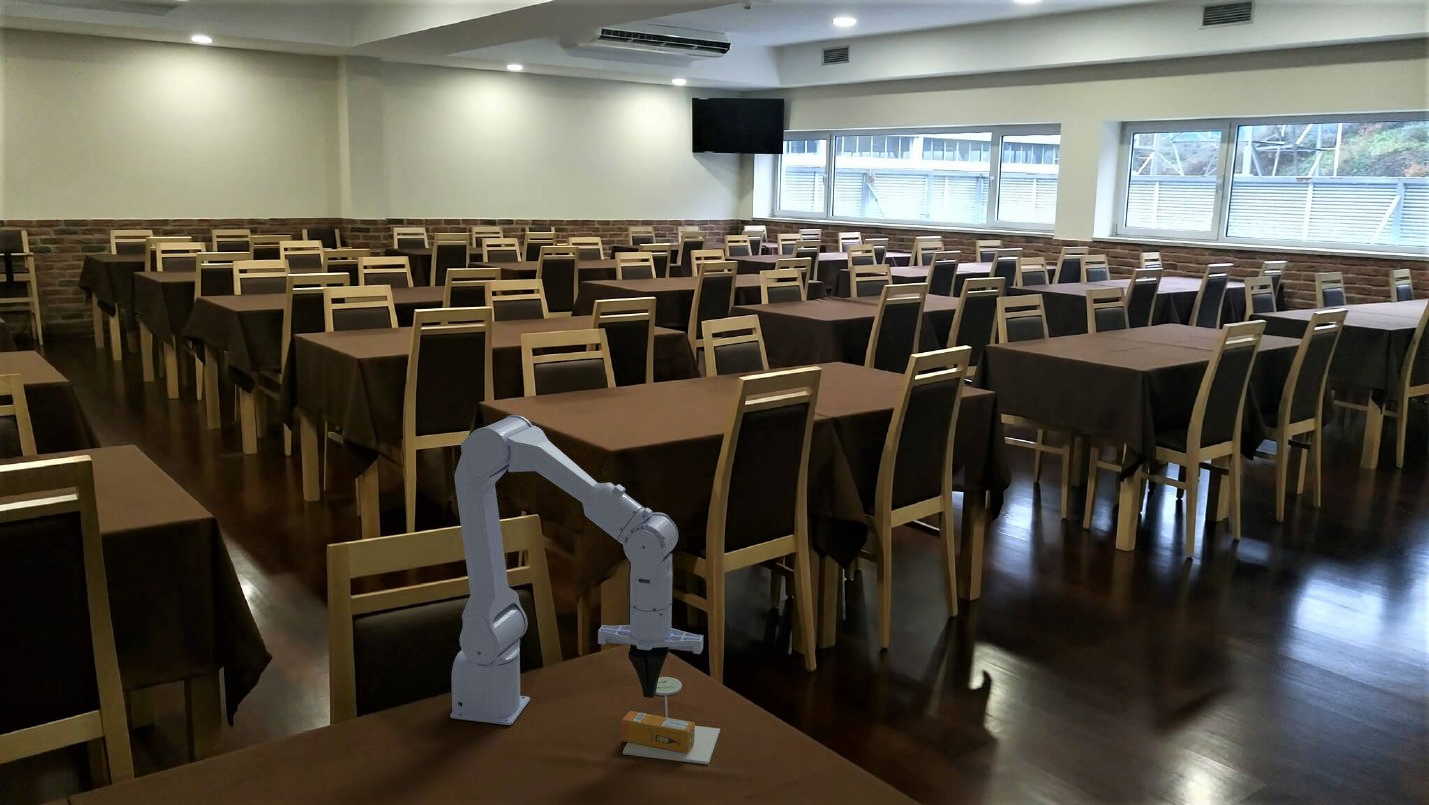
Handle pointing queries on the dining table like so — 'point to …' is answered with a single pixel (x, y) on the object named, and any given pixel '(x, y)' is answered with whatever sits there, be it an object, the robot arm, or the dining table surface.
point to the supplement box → (658, 731)
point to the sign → (668, 688)
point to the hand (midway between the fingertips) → (649, 694)
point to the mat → (696, 754)
